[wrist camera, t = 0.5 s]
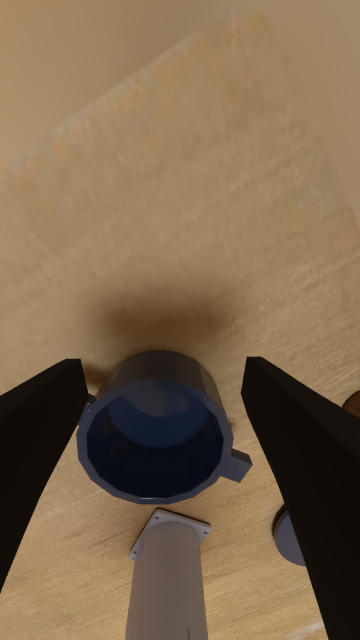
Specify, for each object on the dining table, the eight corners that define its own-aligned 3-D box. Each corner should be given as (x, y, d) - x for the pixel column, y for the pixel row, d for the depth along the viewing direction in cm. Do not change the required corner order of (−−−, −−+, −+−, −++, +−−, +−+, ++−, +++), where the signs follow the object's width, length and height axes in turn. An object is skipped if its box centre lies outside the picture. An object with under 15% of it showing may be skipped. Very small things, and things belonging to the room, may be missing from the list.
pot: (205, 470, 23) (214, 528, 18) (60, 419, 21) (23, 468, 16) (260, 388, 21) (289, 428, 16) (102, 318, 18) (73, 337, 13)
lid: (330, 565, 29) (359, 619, 24) (252, 541, 27) (268, 595, 23) (392, 503, 26) (437, 551, 22) (310, 471, 24) (341, 517, 20)
